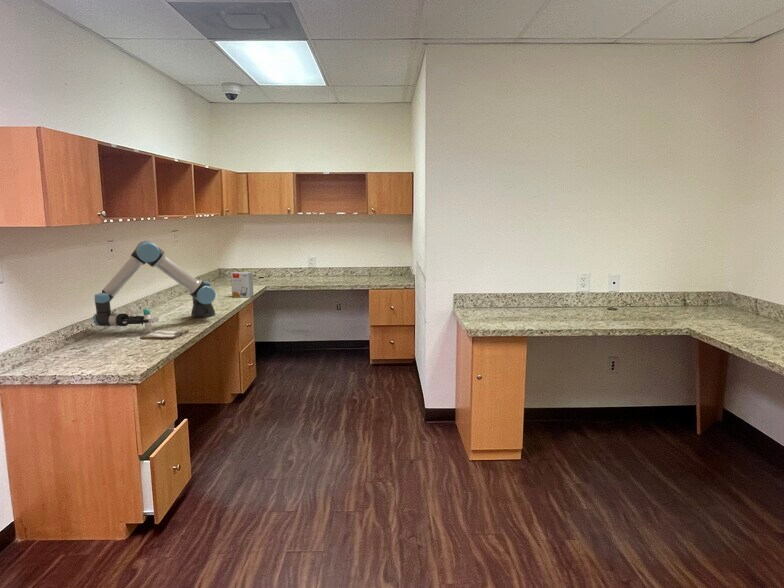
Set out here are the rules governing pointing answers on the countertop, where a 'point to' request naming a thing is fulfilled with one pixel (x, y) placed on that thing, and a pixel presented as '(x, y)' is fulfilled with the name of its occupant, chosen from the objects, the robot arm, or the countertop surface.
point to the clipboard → (165, 334)
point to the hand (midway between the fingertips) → (156, 320)
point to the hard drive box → (242, 284)
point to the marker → (147, 325)
